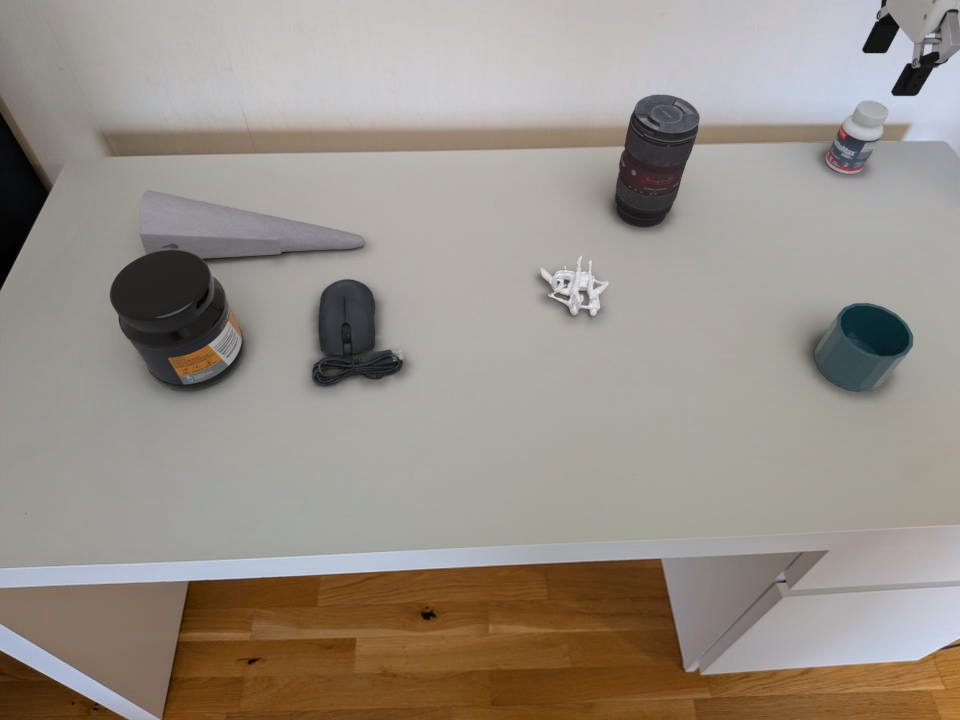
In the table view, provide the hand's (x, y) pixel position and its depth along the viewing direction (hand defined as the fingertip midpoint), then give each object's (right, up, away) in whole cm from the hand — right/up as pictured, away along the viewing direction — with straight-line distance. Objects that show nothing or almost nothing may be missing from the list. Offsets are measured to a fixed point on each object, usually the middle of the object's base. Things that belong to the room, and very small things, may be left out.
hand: (887, 72), depth 87 cm
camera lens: (-30, -17, +5) cm, 35 cm away
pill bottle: (0, -8, +11) cm, 14 cm away
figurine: (-41, -29, -4) cm, 50 cm away
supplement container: (-84, -36, -10) cm, 92 cm away
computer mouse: (-67, -34, -8) cm, 75 cm away
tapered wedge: (-80, -21, +1) cm, 83 cm away
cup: (-11, -37, -10) cm, 40 cm away
